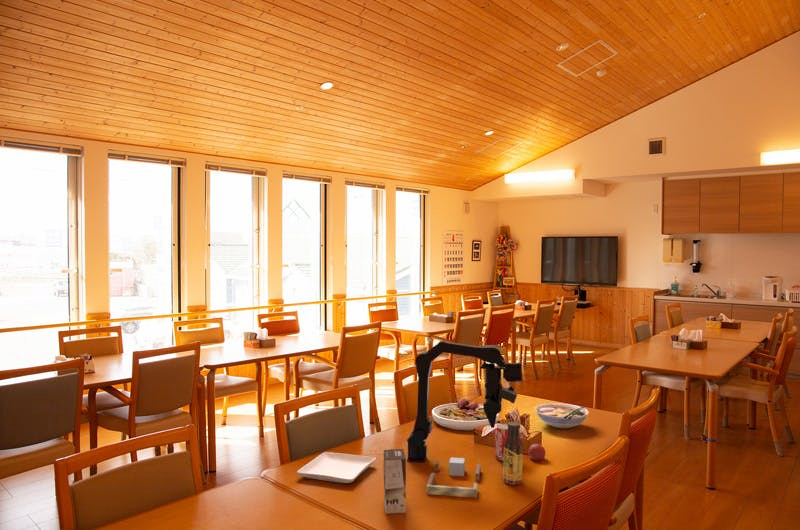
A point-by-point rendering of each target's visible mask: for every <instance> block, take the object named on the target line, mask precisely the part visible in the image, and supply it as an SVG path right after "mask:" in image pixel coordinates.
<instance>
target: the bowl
mask: <svg viewBox="0 0 800 530" xmlns="http://www.w3.org/2000/svg"><path fill="white" fill-rule="evenodd" d="M431 416H432V418H433V420H434V422H435V423H437V424H438V425H439V426H441V427H444V428H447V429H450V430H457V431H475V430H474V428H475V427H478V426H482V425H486V424H490V423H489V421H488V419H487V416H486V414H485V412H484V410H483V404H479V403H478V401H475V400H473V401H471V402H469V399H467V398H461V399H458V401H457V402H455V403H454V402H453V403H446V404H441V405H438V406H436V407H434V408H433V409H432V410H431ZM499 417H500V412H499V413H498V414H497V417H496V422H495V424H497V422H498V421H499Z"/></svg>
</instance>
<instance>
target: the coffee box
mask: <svg viewBox="0 0 800 530" xmlns="http://www.w3.org/2000/svg"><path fill="white" fill-rule="evenodd" d="M406 488H407V457H406V454H405V450H404V449H403V448H390V449H383V503H384V505H383V506H384V513H385V514H386V515H387V514H406V513H407V489H406Z"/></svg>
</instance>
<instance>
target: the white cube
mask: <svg viewBox="0 0 800 530" xmlns="http://www.w3.org/2000/svg"><path fill="white" fill-rule="evenodd" d="M448 466H449V467H448V471H449V472H448V475H449V476H457V477H464V476H465V473H466V472H465V471H466V458H464V457H450V459H449V461H448Z"/></svg>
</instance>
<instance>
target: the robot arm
mask: <svg viewBox="0 0 800 530" xmlns="http://www.w3.org/2000/svg"><path fill="white" fill-rule="evenodd" d="M443 353H445V354H452V355H460V356H467V357H471V358H472V357H473V358H476V359H478V360H481V361H483V363H482V364H480V366H479V369H484V371H485V372H484V374H485V375H484V401H483V404H482V405H483V410H484V412H485V414H486V416H487V419H488V421H489V423H490V426H491V427H490V428H491V429H494V428H495V426H496V425H495V424H496V423H497V422H496V417H497V414H498V413H499V414H500V413H501V412H502V410H503V409H502V406H503V404H502V403H503V400H505V401H507V402H510V403H511V404H515V402H516V399H517V397H518V392H517V391H515V387H513V386H511V385H509V386H508V387H503V384H502V380H503V379H504V380H506V382H508V383H509V382H512V383H514V382H516V383H523V370H522V362H507V360H506V359H505V358H504V357H503V355H502V350H501V349H500V347H499V346H498V345H494V344H484V345H474V344H473V345H472V344H466V343H459V342H453V341H446V340H439V341H438V342H437V343H436V344H435V345H434V346H433V347H431V348H430V349H428V350H423V351H421V352H420V353H419V354H418V355H417V356H416V358H415V362H414V363H415V369H416V373H417V377H418V381H417V382H418V383H417V407H416V408H417V409H416V410H417V411H416V412H417V413H416V417H415V422H414V426H413V430H412V431H411V433H410V434H409V436H408V437H407V439H406V441H407V457H406V462H421V463H424V462H425V461H426V459H427V457H428V445H426V440H427V439H428V438H429V435H430V434H431V432H432V430H433V420H434V419H433V417H430V416H429V397H430V396H429V395H430V393H429V392H430V391H429V390H430V389H429V388H430V375H431V371H432V367H433V362H434V360H435V359H437V358H438V357H440V355H443ZM495 422H496V423H495Z"/></svg>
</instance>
